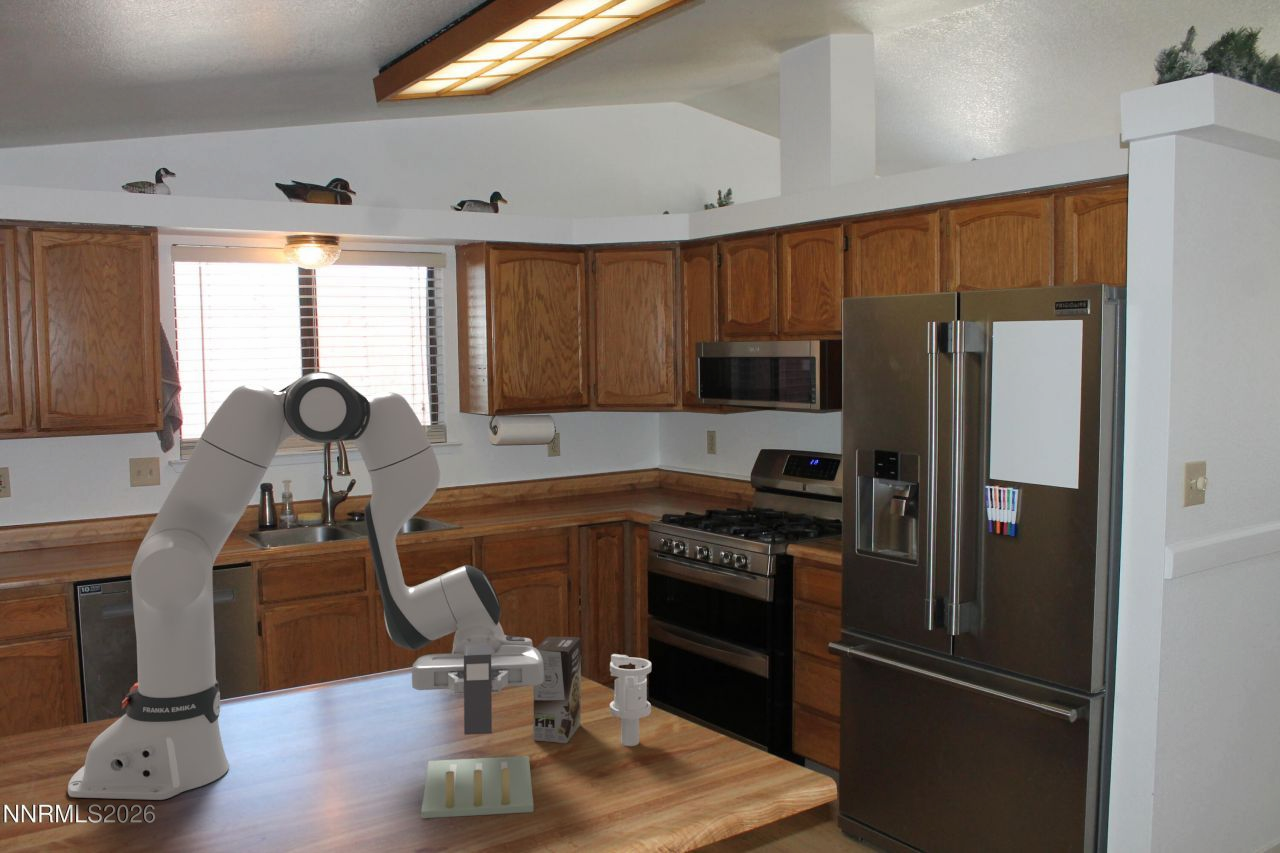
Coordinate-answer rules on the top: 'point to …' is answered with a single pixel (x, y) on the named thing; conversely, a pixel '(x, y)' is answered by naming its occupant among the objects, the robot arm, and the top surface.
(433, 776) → the pinboard
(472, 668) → the block
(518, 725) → the top surface
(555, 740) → the coffee box
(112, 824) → the top surface
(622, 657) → the white plastic cylinder
